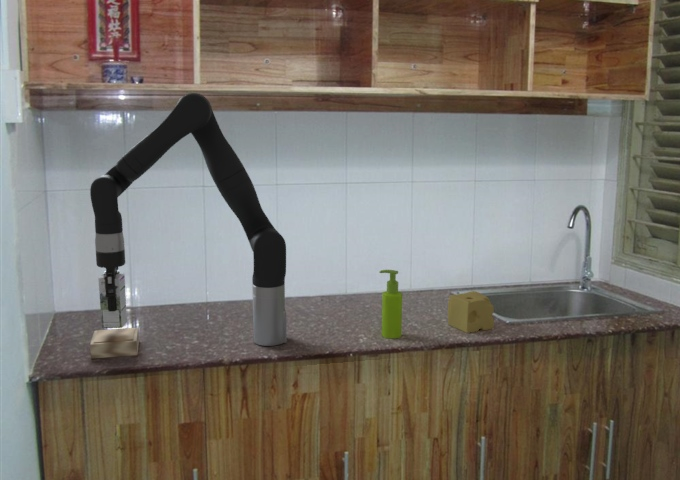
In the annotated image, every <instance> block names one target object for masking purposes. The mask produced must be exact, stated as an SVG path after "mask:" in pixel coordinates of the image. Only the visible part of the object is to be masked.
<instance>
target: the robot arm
mask: <svg viewBox="0 0 680 480" xmlns="http://www.w3.org/2000/svg"><path fill="white" fill-rule="evenodd" d="M190 134H191V135H192V136H193V138H194V140H195V141H196V143H197V144H198V146H199V148H200V151H201V153H202V156H203V159H204V161H205V164H206V167H207V169H208V172H209V175H210V176H211V178H212V180H213V183H214V184H215V186H216V188H217V190H218V192H219V193H220V195H221V196H222V199H224V201H225V203H226V204H227V205H228V207H229V208H230V210H231V211H232V213H234V215H235V217H236V218H237V219H238V221H239V222H240V224H241V226H242V229H243V231H244V234H245V235H246V238H247V240H248V242H249V245H250V248H251V250H252V252H253V253H252V254H253V273H252V276H251V277H252V319H253V320H252V321H253V322H252V325H253V329H252V330H253V336H252V337H253V343H254V344H256V345H258V346H263V347H264V346H265V347H270V346H271V347H272V346H273V347H274V346H279V345H282V344H287V343H288V339H287V335H288V334H287V331H288V330H287V327H288V326H287V310H286V296H285V295H286V293H285V292H286V289H285V288H286V287H285V283H286V282H285V279H286V274H287V243H286V240H285V238H284V236H283V235H282V234H281V233H280V232H279V231H278V230H277V229H276V228H275V227H274V225H273V224H272V222H271V221H270V220H269V219H270V218H268V216H267V215H266V214H265V212H264V210H263V208H262V205H261V203H260V200H259V197H258V194H257V191H256V189H255V186H254V183H253V181H252V179H251V178H250V175H249V173H248V171H247V170H246V168H245V166H244V164H243V163H242V161H241V160H240V158H239V157H238V154H237V153H236V152H235V150H234V148H233V147H232V146H231V144H230V143H229V141H228V140H227V139H226V136H225V135H224V134H223V131H222V129H221V127H220V125H219V123H218V120H217V118H216V116H215V113H214V110H213V108H212V104H211V102H210V101H209V100H208V98H207V97H206V96H204V95H203V94H200V93H197V92H190V93H187V94H185V95H183V96H181V98H179V100H178V101H177V103H176V105H175V107H174V108H173V109H172V110H171V112H170V113H169V114H168V116H167V117H166V118H165V119H164V120H163V121H162V122H161V123H160V124H159V125H158V126H156V127H155V129H153V130H152V131H151V132H150V133H149V134H146V136H144V137H143V138H142V139H141V140H140V141H139V142H137V143H135V145H133V146H132V147H131V148H130V149H129V150H127V151H126V153H124V154H123V155H122V156H121V157H120V158H119V159H118V160H117V162H116V164H115V165H113V166H112V167H111V168H110V169H109V170H107V172H105V173H104V174H102V175H101V176H98V177H96V178H95V179H94V180H92V182H91V185H90V188H89V189H90V190H89V191H90V193H89V194H90V203H91V207H92V210H93V214H94V228H95V230H94V231H95V235H94V236H95V238H94V243H95V244H94V245H95V247H94V248H95V260H96V261H95V262H96V266H97V267H99V268H103V269H105V271H104V273H103V274H104V280H105V290H106V298H107V299H108V311H116V310H117V303H116V296H117V295H116V289H117V288H118V286H116V285H115V277H119V274H120V273H121V272H120V270H119V268H120V267H122V266H125V264H126V249H125V238H124V232H123V228H124V227H123V218H122V213H121V212H120V211H119V200H118V198H119V197H120V196H121V195H122V194H123V193H124V192H125V191H127V189H128V188H129V187H130V186H131V185H132V184H133V183H134V182H135V181H136V180H138V179H139V178H140V177H142V175H145V173H147V172H148V170H150V169H151V168H152V167H153V166H154V165H155V164H156V163H157V162H159V160H160V159H161V158H162V157H163V156H164V155H165V154H166V153H167V152H168V151H169V150H170V149H171V148H172V147H173V146H174V145H175V144H177V143H178V142H179V141H181V140H182V139H183V138H185V137H186V136H187V135H190ZM111 289H113V293H109V290H111Z"/></svg>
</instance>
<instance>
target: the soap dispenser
mask: <svg viewBox="0 0 680 480" xmlns="http://www.w3.org/2000/svg"><path fill="white" fill-rule="evenodd" d="M379 273H380V274H389V280H387V282H386V291H383V292H382V300H381V301H382V302H381V303H382V304H381V305H382V307H381V337H382V338H385V339H390V340H391V339H392V340H393V339H400V338H402V327H403V326H402V323H403V322H402V319H403V316H402V315H403V293H402V292H400V291H399V281H397V280H396V279H397V278H396V277H397V276H396V275H397V274H399V271H398V270H395V269H382V270H379Z"/></svg>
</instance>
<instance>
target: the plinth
mask: <svg viewBox="0 0 680 480" xmlns="http://www.w3.org/2000/svg"><path fill="white" fill-rule="evenodd" d="M139 343H140V334H139V327H127V328H126V327H122V328H108V329H99V330H94V332H93V335H92V338H91V340H90V344H89V347H90V349H89V350H90V359H91V360H92V359H103V358H116V357H128V356H131V357H132V356H137V355H138V353H139V351H138V350H139V345H140V344H139Z"/></svg>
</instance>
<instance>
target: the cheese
mask: <svg viewBox="0 0 680 480" xmlns="http://www.w3.org/2000/svg"><path fill="white" fill-rule="evenodd" d="M448 297H449V298H448V302H447V320H448V325H449V326H452V327H453V328H455V329H457V328H458V329H457V330H460V331H462V332H464V333H466V334H471V333H470V332H472V333H476V332H478V331H479V329H481V330H480V331H488V329H490V330H493V329H494V326H495V319H494V317H493V314H494V312H495V311H494V309H495V307H494V306H493V304H492V303H491V301H490V299H489V297H488V296H486V295H484V294H482V293H481V292H478V291H475V290H471V291H468V292H464V293H463V292H462V293H458V294H457V293H456V294H450V295H449V296H448ZM475 331H476V332H475Z"/></svg>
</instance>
